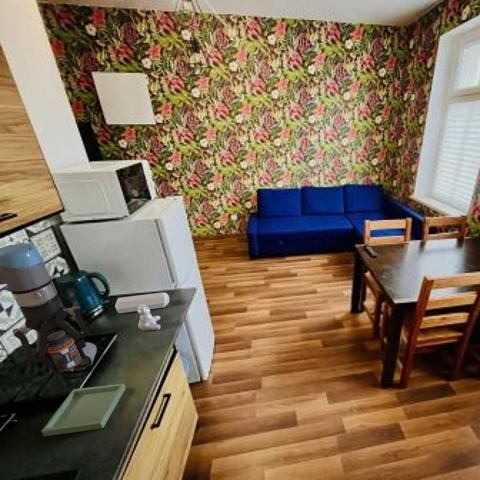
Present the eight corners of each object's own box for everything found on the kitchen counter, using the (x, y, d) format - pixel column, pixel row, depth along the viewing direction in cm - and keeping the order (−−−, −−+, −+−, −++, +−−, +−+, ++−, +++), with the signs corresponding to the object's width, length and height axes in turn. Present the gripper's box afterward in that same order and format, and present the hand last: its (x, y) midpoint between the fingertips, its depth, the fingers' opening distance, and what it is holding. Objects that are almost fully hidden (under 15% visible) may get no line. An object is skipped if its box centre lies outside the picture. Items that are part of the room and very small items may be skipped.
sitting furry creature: (161, 330, 120) (154, 308, 115) (138, 336, 116) (131, 314, 111) (160, 317, 127) (155, 296, 122) (139, 323, 123) (133, 302, 119)
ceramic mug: (100, 352, 107) (93, 337, 104) (95, 367, 101) (88, 352, 98) (66, 362, 103) (58, 347, 100) (59, 378, 96) (50, 362, 93)
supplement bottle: (80, 367, 79) (66, 338, 75) (54, 376, 76) (38, 346, 72) (84, 354, 84) (71, 325, 80) (59, 361, 81) (45, 332, 77)
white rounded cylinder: (109, 311, 125) (166, 303, 131) (113, 297, 129) (167, 290, 135) (117, 317, 131) (170, 309, 137) (120, 303, 135) (172, 296, 141)
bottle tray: (44, 436, 78) (41, 431, 77) (75, 394, 90) (73, 389, 90) (103, 428, 80) (100, 423, 80) (125, 388, 93) (124, 383, 92)
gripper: (-13, 325, 62) (28, 393, 71) (87, 288, 76) (111, 349, 85) (-18, 312, 66) (22, 379, 75) (79, 280, 80) (102, 339, 89)
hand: (69, 363), depth 80 cm, fingers closed on supplement bottle, 6 cm apart
